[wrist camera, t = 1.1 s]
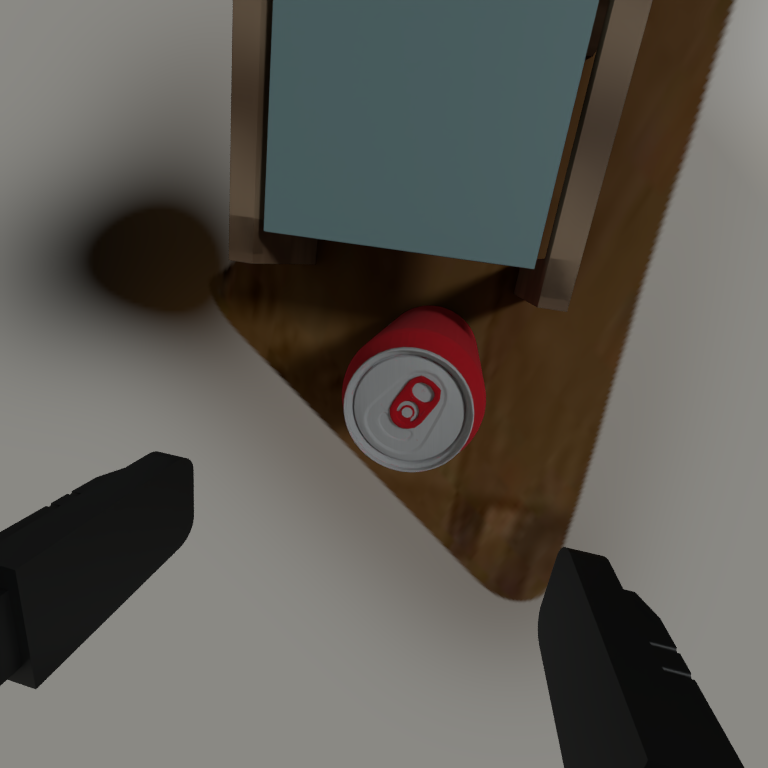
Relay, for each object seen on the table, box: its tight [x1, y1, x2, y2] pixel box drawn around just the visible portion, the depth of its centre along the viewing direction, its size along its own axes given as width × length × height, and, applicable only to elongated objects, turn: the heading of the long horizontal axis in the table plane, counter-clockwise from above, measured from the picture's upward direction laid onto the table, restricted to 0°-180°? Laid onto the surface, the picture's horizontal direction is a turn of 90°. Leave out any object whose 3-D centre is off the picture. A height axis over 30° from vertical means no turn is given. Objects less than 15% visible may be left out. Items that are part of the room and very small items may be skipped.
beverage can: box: [342, 306, 486, 472], centre depth 21 cm, size 6×6×12 cm
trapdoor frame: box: [229, 0, 652, 312], centre depth 20 cm, size 14×15×8 cm
